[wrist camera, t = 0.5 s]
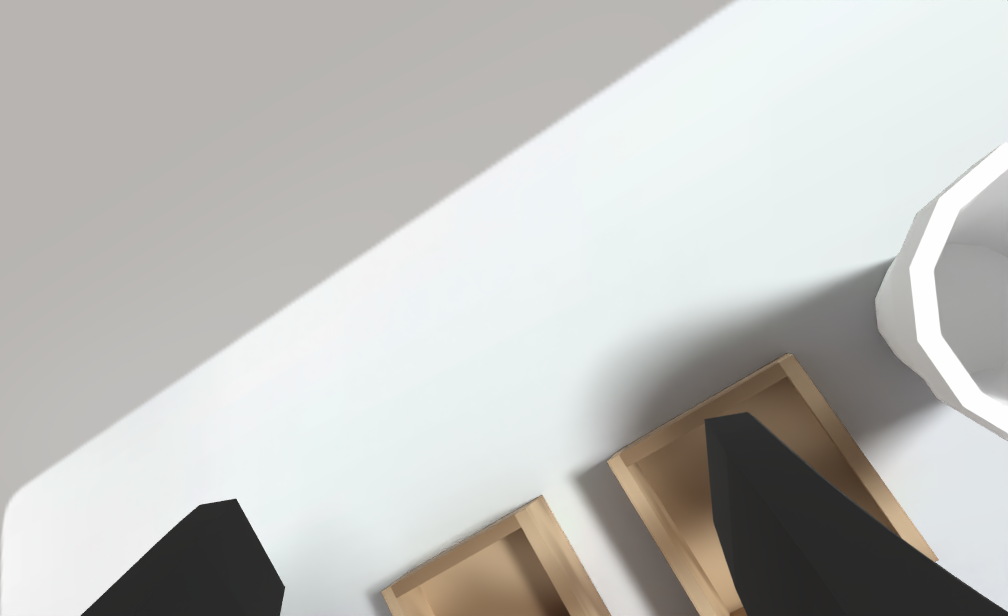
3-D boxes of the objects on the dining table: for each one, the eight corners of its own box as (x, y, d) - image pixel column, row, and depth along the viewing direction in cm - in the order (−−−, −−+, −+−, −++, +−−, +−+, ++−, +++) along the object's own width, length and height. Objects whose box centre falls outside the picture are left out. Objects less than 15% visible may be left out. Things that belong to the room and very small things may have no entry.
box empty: (918, 538, 29) (939, 560, 26) (725, 627, 31) (724, 656, 28) (787, 352, 31) (792, 354, 28) (617, 451, 34) (606, 461, 31)
